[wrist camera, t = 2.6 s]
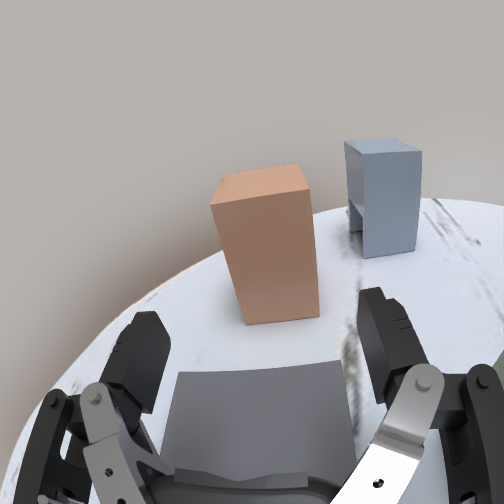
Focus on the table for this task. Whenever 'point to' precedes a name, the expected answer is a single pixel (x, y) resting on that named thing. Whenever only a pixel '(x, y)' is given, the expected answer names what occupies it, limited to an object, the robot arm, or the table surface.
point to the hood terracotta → (269, 243)
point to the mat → (262, 423)
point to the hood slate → (383, 194)
